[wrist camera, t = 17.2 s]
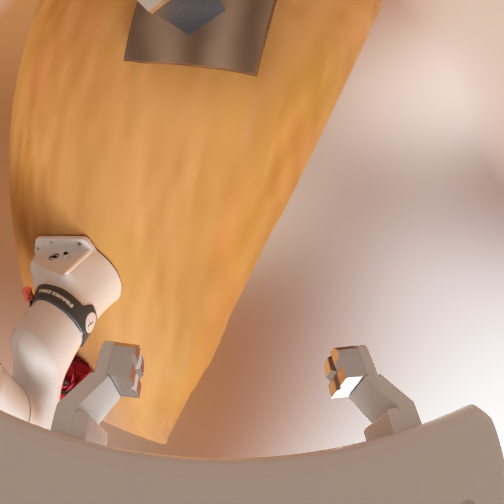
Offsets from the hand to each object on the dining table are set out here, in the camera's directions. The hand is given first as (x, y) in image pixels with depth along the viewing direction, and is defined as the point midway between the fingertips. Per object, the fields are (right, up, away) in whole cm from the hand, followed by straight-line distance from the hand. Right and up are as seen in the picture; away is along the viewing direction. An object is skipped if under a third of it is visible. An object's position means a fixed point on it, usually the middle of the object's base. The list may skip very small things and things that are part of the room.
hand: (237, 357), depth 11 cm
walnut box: (-5, +34, +16) cm, 38 cm away
